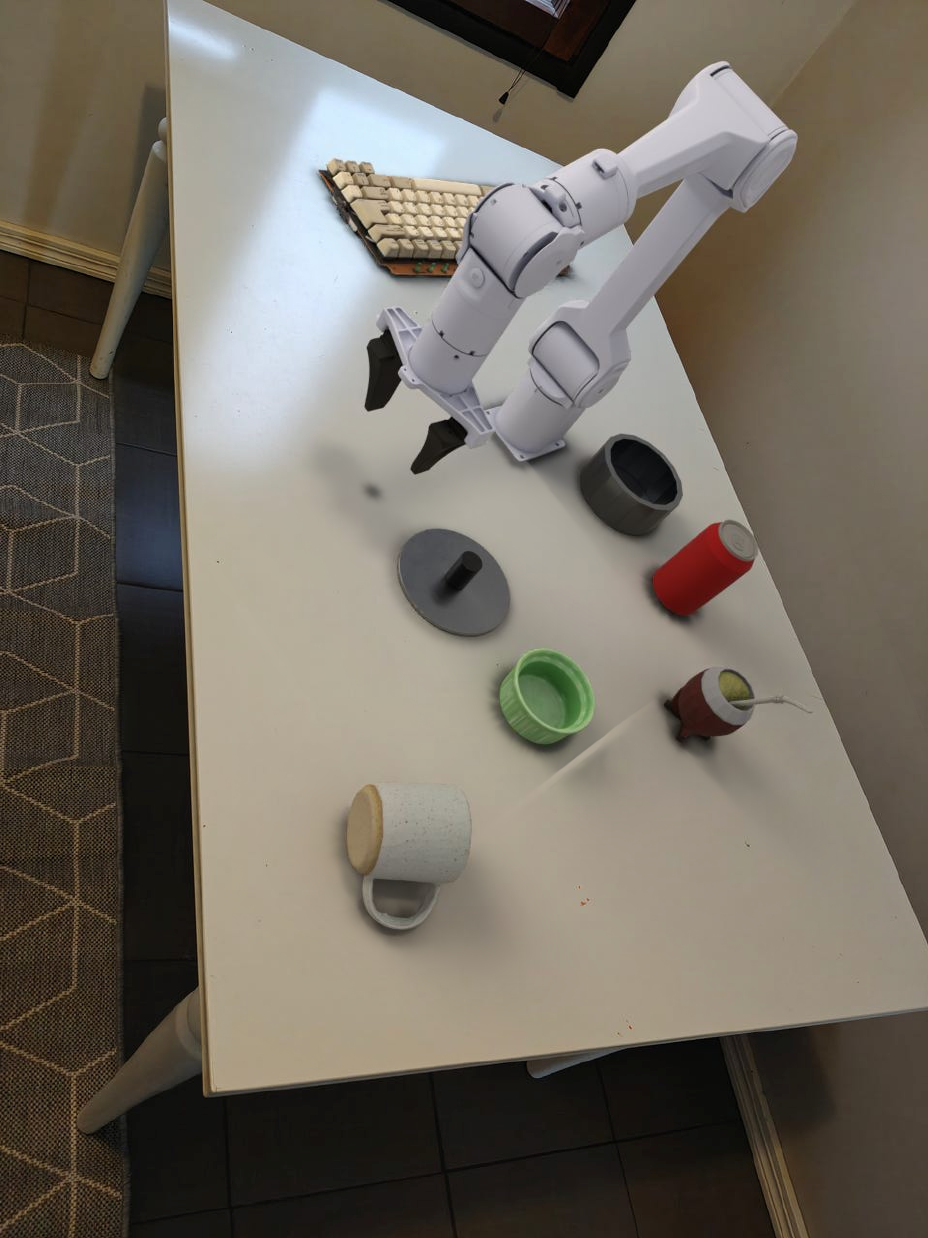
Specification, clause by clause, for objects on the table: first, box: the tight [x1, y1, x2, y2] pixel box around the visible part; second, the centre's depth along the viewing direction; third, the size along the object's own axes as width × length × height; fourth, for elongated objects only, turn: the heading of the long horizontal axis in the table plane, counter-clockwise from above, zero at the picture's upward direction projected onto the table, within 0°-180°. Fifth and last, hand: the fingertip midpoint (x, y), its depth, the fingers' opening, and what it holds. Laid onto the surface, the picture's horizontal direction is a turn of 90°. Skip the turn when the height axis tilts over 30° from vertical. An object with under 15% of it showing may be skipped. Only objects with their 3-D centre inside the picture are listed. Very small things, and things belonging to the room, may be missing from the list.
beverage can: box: [652, 519, 759, 616], centre depth 99 cm, size 7×7×12 cm
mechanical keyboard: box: [317, 157, 571, 276], centre depth 121 cm, size 38×19×3 cm, turn 125°
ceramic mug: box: [346, 781, 473, 931], centre depth 66 cm, size 11×8×8 cm
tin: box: [579, 433, 684, 536], centre depth 107 cm, size 12×12×5 cm
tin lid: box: [396, 528, 511, 637], centre depth 86 cm, size 13×13×5 cm
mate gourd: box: [663, 666, 814, 743], centre depth 88 cm, size 8×8×15 cm
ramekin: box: [499, 647, 596, 745], centre depth 83 cm, size 9×9×4 cm
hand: (396, 438), depth 80 cm, fingers open, 7 cm apart
